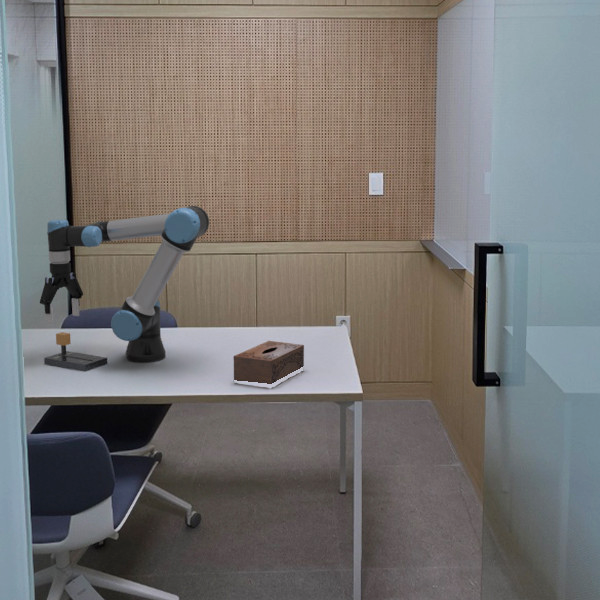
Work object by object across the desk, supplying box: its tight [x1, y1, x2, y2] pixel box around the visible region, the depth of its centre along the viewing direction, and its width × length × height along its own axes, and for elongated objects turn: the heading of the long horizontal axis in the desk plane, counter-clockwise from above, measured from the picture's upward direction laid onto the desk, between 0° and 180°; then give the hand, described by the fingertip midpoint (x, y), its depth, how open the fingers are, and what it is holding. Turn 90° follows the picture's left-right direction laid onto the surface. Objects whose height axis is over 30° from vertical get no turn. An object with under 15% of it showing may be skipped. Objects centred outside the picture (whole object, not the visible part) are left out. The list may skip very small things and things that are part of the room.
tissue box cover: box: [233, 340, 305, 384], centre depth 318 cm, size 26×14×10 cm, turn 154°
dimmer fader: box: [55, 332, 72, 355], centre depth 336 cm, size 4×3×8 cm
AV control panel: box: [43, 350, 108, 372], centre depth 334 cm, size 20×12×3 cm, turn 61°
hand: (63, 318), depth 334 cm, fingers open, 13 cm apart
